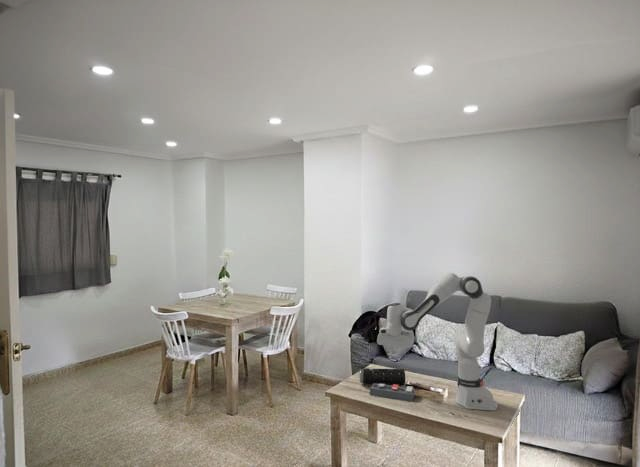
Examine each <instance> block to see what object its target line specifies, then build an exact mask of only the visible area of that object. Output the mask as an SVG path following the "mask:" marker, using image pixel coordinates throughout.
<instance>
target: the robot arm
mask: <svg viewBox="0 0 640 467" xmlns="http://www.w3.org/2000/svg"><path fill="white" fill-rule="evenodd" d="M456 292H462V293H463V294H464V295H466V296H468V297H469V299H470V302H469V306H468V309H467V312H466V315H465V319H464V327H465V328H464V330H459V331H457V332H456V333H455V334H454V337H453V340H454V345H455V352H456V356H457V364H458V365H457V368H458V369H457V371H458V372H457V374H458V375H457V379H456V381H457V382H456V385H457V391H456V392H457V393H456V397H455V400H454V402H456V403H457V404H458V405H460V406H463V407H464V408H465V409H468V410H469V409H470V410H479V411H480V410H481V411H482V410H483V411H494V412H495V411H497V409H498V408H499V403H498V402H497V400H495V398H494V396H493V394H492V392H491V390H489V389H488V388H486V387H485V386H484V381H483V379H482V378H480V369H479V368H480V364H479V360H478V358H479V357H480V358H481V356H482V355H483V354H484V352H485V346H484V345H485V344H484V341H485V340H484V339H485V327H486V325H487V324H486V323H487V322H488V318H489V314H490V311H491V307H492V305H491V304H492V298H491V296H490V294H488V293H487V292H485V291H483V287H482V283H481V281H480V280H479V279H478V277H475V276H472V275H469V276H468V275H467V276H463V277H459V276H458V275H457V274H455V273H453V272H451V273H450V272H449V273H447V274H446V275H444V276H443V277H441V278H440V279H439V280H437V281H436V282H435V283H434V284H433V285H432V286H431V287H430V288H429V289H428V292H427V294H426V297H425V299H424V300H423V301H422V302H421V303H420V304H419V305H418V306H417V307H416V308H414V309H412V308H408V307H406V306H405V305H402V304H401V303H399V302H394V303H390V304H389V305H388V307H387V309H386V310H387V311H386V319H387V323H386V326H384V327H380V329H379V330H378V332H379V333H378V335H377V339H376V343H377V345H379V346H388V347H389V350H390V351H391V352H390V353H391V354H395V355H397V354H398V349H399V348H405V349H410V348H411V347H412V344H413V343H412V339H413V334H412V332H410V331H414V330H416V329H417V328H418V327H419V325H420V322H421V320H422V319H423V318H425V317H426V315H428V314H429V313H430V312H431V311H432V310H434V308H436V307H438V305H440V304H442V303H443V302H444V301H446V300H448V298H450V297H451V296H452V295H453V294H454V293H456ZM403 330H406V331H403ZM393 347H395V349H393Z"/></svg>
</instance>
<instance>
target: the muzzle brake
mask: <svg viewBox="0 0 640 467" xmlns="http://www.w3.org/2000/svg"><path fill="white" fill-rule="evenodd" d="M358 377H359V383H360V384H363V385H369V386H372V385H373V383H377V384H385V385H391V386H393V384H396V385H399V386H404V385H405V384H406V371H405V369H404V368H372V369H371V368H369V367H368V368H366V367H365V368H364V367H363V368H360V369H359V376H358Z"/></svg>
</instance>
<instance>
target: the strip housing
mask: <svg viewBox="0 0 640 467" xmlns="http://www.w3.org/2000/svg"><path fill="white" fill-rule="evenodd" d="M378 385H379V384H377V383H373V385H370V387H369V395H370V396H375V397H381V398H388V399H393V400H401V401H407V402H413V401H414V398H415V396H414V394H415V393H416V389H415V388H413V389H412V392H406V389H407V386H406V387H404V386H399V387H398V390H392V386H393V385H389V384H386V385H385V386H384V387H378ZM415 395H416V394H415Z"/></svg>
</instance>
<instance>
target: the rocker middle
mask: <svg viewBox="0 0 640 467" xmlns="http://www.w3.org/2000/svg"><path fill="white" fill-rule="evenodd" d="M391 386H392V390H398V387H400V385H396V384H393V385H391Z"/></svg>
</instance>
